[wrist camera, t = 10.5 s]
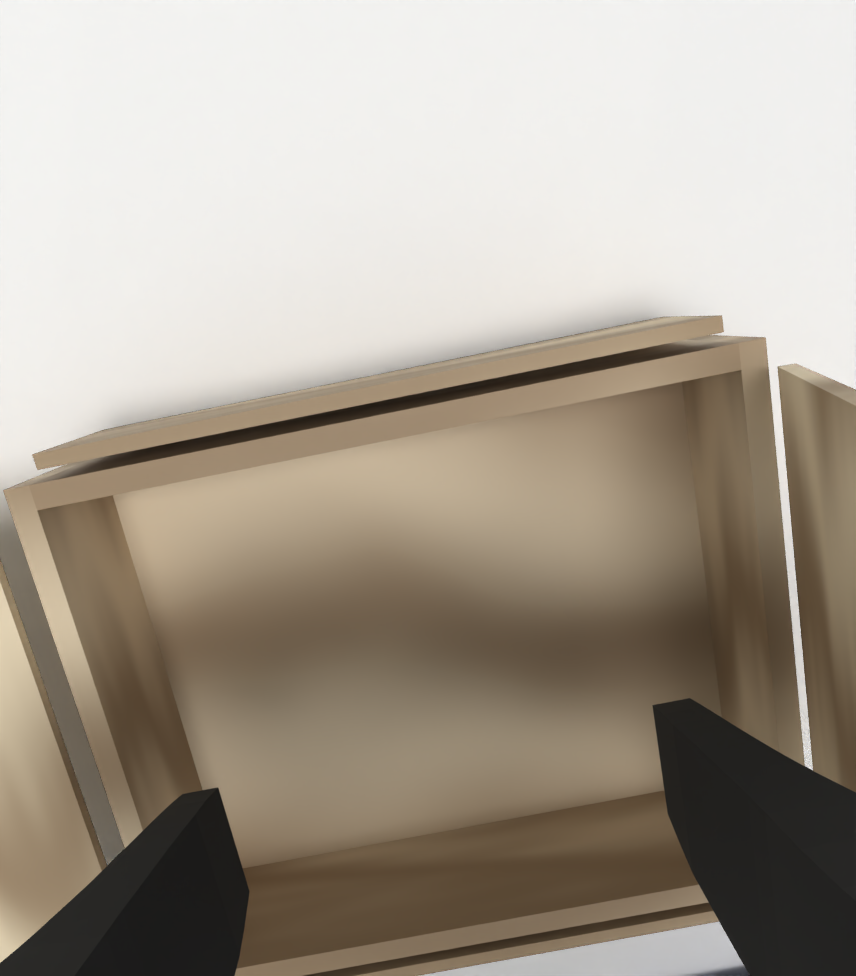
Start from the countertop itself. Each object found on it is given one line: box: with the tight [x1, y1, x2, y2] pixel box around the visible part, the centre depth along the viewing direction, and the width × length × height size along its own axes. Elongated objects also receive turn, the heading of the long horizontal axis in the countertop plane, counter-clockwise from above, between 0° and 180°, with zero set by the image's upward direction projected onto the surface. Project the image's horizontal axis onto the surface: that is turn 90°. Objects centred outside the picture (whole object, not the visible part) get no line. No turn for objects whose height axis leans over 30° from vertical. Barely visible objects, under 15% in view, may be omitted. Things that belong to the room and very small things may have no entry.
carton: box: [3, 316, 805, 976], centre depth 17 cm, size 13×15×4 cm
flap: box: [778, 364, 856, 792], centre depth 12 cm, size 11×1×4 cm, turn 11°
